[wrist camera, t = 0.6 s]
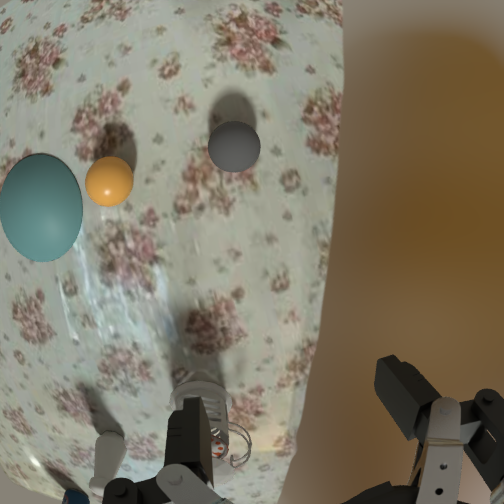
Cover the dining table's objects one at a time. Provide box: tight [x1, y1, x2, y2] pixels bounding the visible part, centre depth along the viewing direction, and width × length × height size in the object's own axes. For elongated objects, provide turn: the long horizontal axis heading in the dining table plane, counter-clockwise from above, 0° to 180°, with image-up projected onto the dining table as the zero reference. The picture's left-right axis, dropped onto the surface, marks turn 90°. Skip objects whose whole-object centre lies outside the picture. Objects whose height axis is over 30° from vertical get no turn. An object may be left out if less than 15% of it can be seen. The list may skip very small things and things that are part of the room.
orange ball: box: [85, 156, 134, 207], centre depth 30 cm, size 6×6×6 cm
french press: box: [169, 381, 252, 487], centre depth 32 cm, size 10×12×25 cm
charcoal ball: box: [208, 121, 261, 172], centre depth 31 cm, size 6×6×6 cm
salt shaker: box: [89, 431, 127, 497], centre depth 38 cm, size 6×6×13 cm
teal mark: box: [0, 155, 83, 262], centre depth 32 cm, size 14×14×1 cm
